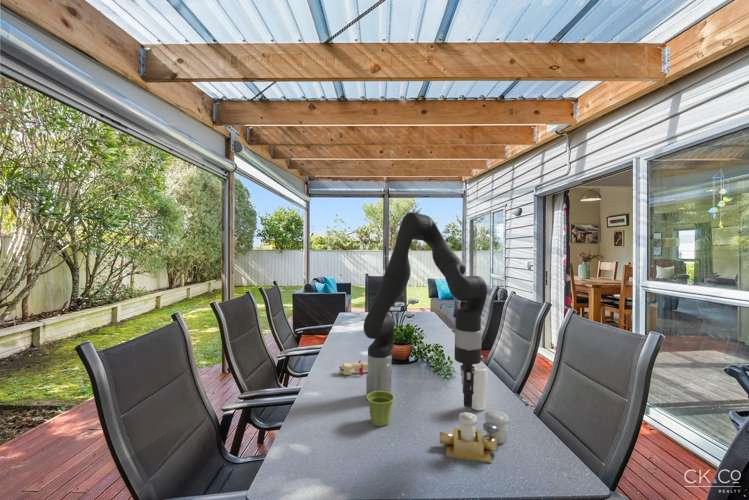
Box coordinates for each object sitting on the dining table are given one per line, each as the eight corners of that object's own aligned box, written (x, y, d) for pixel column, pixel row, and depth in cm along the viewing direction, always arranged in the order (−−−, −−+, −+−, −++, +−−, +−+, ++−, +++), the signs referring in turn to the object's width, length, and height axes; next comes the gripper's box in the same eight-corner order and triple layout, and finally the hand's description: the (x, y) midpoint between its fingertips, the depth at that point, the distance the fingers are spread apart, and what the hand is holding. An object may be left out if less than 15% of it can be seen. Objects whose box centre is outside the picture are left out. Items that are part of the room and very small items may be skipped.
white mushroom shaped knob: (459, 451, 96) (459, 419, 96) (458, 441, 101) (458, 411, 101) (477, 453, 95) (477, 421, 95) (476, 443, 100) (476, 413, 100)
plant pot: (397, 418, 118) (397, 393, 118) (389, 431, 109) (389, 404, 109) (372, 413, 121) (372, 389, 121) (362, 426, 112) (362, 400, 112)
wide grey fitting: (486, 443, 102) (486, 420, 102) (482, 431, 109) (482, 409, 109) (511, 445, 101) (511, 421, 101) (505, 433, 108) (505, 411, 108)
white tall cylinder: (488, 413, 121) (488, 371, 121) (468, 411, 123) (468, 369, 123) (486, 404, 128) (486, 364, 128) (467, 403, 129) (467, 363, 129)
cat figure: (387, 370, 168) (337, 369, 163) (389, 352, 168) (338, 351, 163) (392, 378, 158) (339, 377, 153) (394, 359, 159) (341, 358, 154)
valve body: (439, 456, 96) (439, 429, 96) (440, 437, 106) (440, 412, 106) (501, 464, 92) (501, 436, 92) (496, 443, 102) (496, 418, 102)
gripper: (454, 337, 107) (453, 388, 107) (455, 350, 93) (454, 409, 93) (479, 339, 105) (478, 391, 105) (483, 353, 91) (482, 413, 91)
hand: (467, 400), depth 99 cm, fingers open, 8 cm apart
